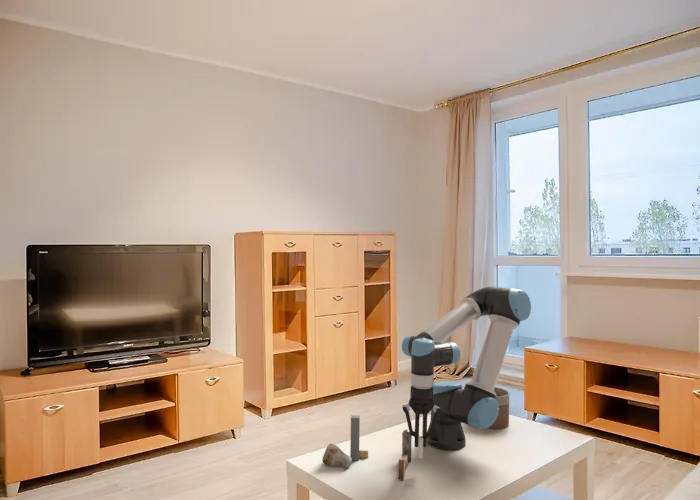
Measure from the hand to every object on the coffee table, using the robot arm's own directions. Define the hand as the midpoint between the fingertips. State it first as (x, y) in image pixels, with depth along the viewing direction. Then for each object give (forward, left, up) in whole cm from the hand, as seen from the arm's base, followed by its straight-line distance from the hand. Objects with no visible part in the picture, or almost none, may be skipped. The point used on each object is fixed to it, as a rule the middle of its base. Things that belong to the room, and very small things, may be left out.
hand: (420, 456), depth 173 cm
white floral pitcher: (+28, -4, -6) cm, 29 cm away
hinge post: (+4, -9, -6) cm, 12 cm away
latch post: (+21, -10, -6) cm, 23 cm away
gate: (+5, 0, -5) cm, 7 cm away
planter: (-34, -51, -6) cm, 62 cm away
